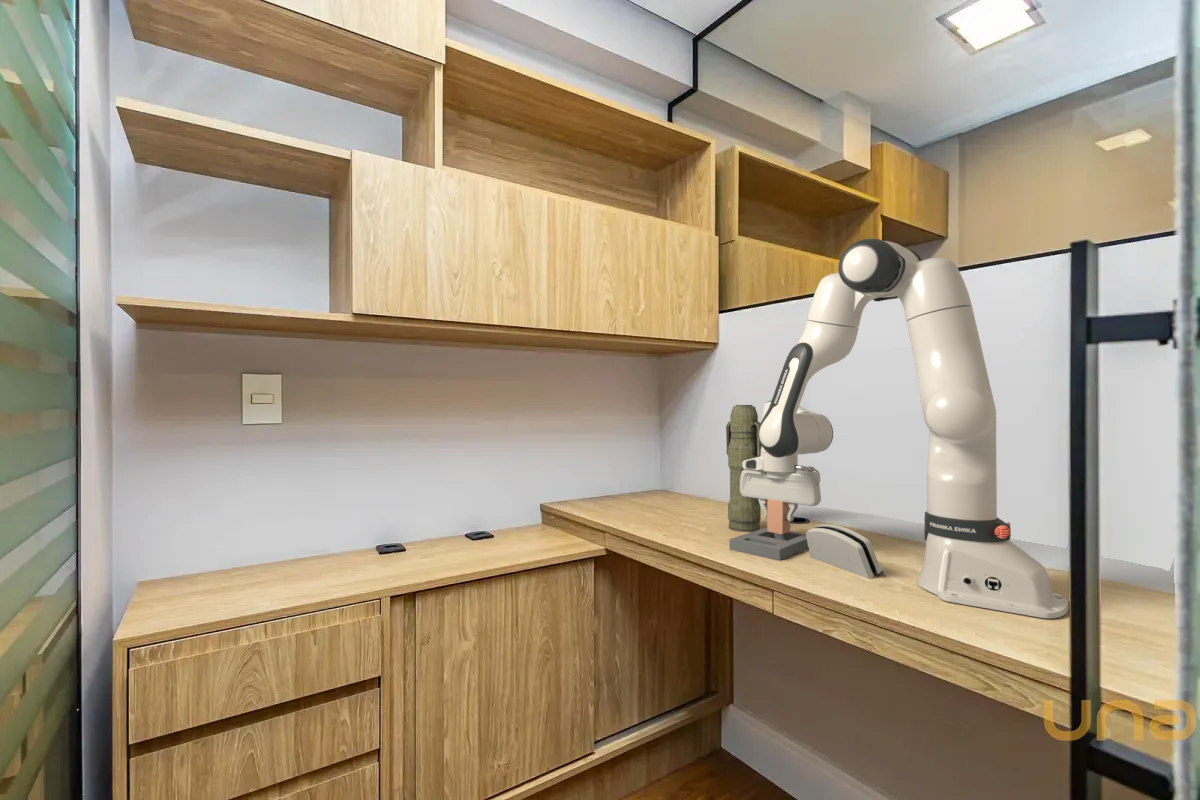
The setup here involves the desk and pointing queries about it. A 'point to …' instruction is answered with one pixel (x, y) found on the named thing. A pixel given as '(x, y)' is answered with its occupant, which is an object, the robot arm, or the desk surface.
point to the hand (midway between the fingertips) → (778, 519)
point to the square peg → (777, 517)
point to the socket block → (770, 544)
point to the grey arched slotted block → (843, 550)
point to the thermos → (740, 448)
